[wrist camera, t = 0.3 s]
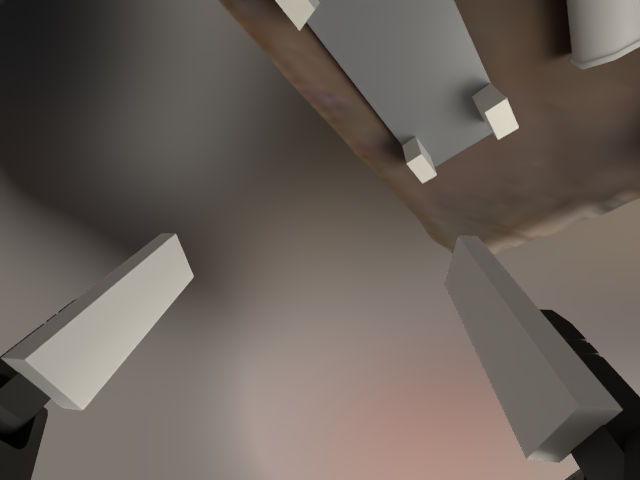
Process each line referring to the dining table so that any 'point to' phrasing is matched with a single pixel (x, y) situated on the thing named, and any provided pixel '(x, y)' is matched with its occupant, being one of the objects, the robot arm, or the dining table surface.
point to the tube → (602, 30)
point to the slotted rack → (412, 72)
